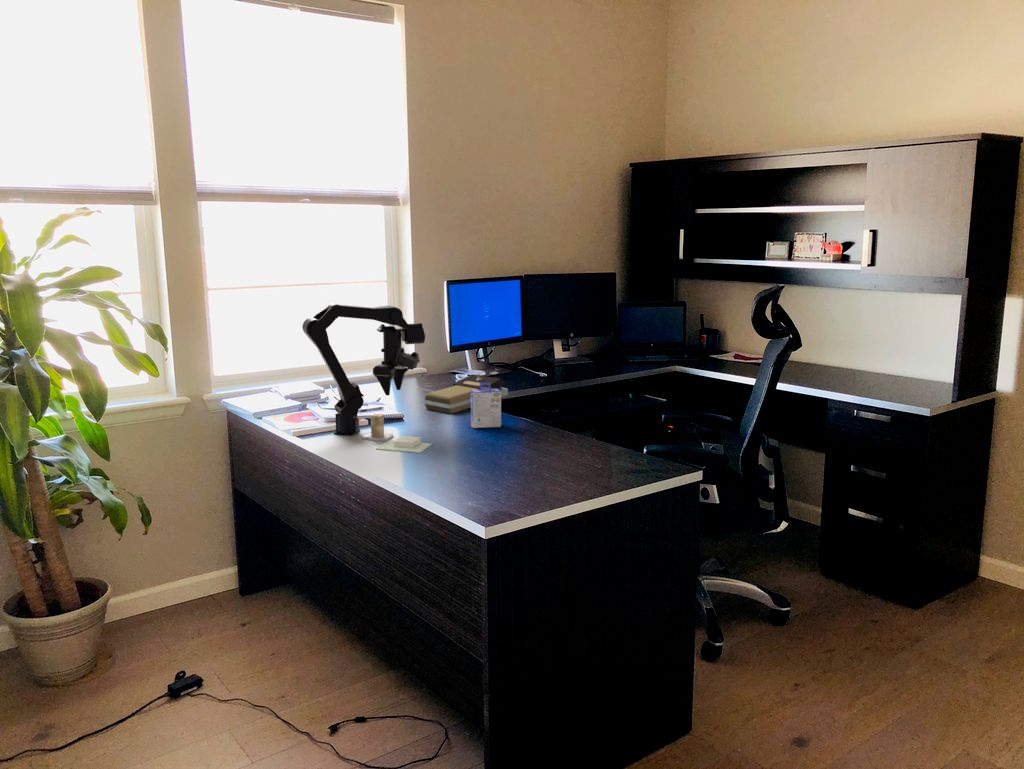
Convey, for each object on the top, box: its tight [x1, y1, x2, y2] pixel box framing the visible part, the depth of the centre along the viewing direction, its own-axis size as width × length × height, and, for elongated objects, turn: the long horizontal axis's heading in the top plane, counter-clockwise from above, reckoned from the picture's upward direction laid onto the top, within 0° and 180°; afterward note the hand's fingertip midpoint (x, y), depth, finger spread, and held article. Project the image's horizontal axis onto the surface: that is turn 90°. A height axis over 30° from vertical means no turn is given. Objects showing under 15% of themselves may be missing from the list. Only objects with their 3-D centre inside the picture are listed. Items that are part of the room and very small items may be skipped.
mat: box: [376, 439, 433, 454], centre depth 255 cm, size 14×10×1 cm
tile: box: [394, 435, 422, 448], centre depth 257 cm, size 6×2×7 cm
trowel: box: [361, 413, 394, 442], centre depth 264 cm, size 8×6×8 cm
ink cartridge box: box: [470, 383, 502, 429], centre depth 280 cm, size 10×6×14 cm, turn 103°
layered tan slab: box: [423, 373, 509, 415], centre depth 312 cm, size 19×11×30 cm
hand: (393, 392), depth 275 cm, fingers open, 9 cm apart
